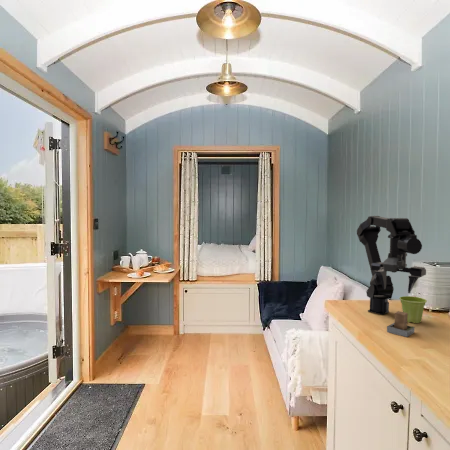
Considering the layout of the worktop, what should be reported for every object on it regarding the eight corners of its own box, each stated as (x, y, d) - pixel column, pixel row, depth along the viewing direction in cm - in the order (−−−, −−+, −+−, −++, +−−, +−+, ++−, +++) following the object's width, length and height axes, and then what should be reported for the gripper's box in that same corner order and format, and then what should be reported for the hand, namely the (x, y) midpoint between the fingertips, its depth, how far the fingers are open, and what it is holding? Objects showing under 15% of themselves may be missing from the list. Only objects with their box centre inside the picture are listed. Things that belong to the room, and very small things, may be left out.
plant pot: (410, 325, 134) (411, 302, 134) (393, 318, 143) (394, 296, 143) (431, 324, 136) (432, 301, 136) (413, 316, 145) (414, 295, 145)
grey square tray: (386, 332, 127) (387, 326, 126) (394, 327, 131) (394, 322, 131) (407, 337, 122) (407, 331, 122) (414, 332, 126) (414, 327, 126)
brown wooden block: (394, 332, 126) (394, 312, 126) (397, 330, 129) (398, 311, 128) (403, 334, 124) (404, 314, 124) (406, 332, 126) (407, 313, 126)
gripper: (364, 250, 138) (363, 289, 139) (416, 255, 125) (414, 299, 125) (377, 248, 146) (375, 285, 147) (427, 252, 132) (425, 294, 133)
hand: (396, 291), depth 138 cm, fingers open, 9 cm apart
